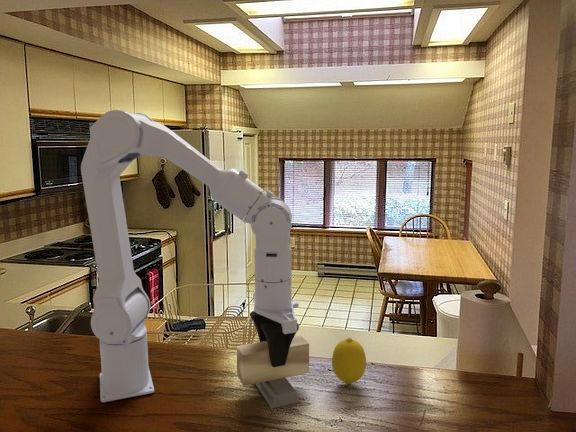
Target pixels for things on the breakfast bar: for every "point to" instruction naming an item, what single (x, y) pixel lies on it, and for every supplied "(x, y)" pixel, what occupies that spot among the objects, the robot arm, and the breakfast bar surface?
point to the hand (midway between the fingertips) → (273, 359)
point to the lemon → (349, 361)
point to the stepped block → (278, 392)
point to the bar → (258, 366)
